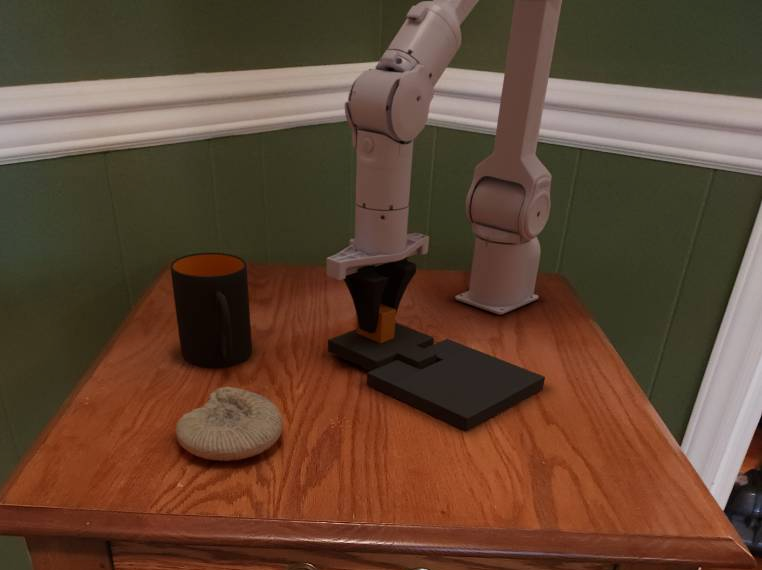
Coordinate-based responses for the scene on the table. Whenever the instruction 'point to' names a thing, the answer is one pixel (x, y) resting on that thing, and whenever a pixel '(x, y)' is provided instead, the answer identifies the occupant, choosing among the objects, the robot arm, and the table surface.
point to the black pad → (384, 344)
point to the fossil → (230, 426)
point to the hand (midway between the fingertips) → (376, 327)
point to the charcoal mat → (457, 384)
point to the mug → (212, 309)
